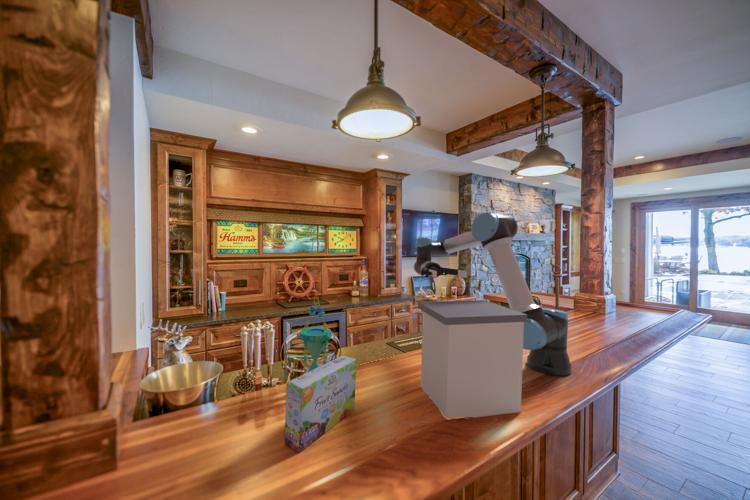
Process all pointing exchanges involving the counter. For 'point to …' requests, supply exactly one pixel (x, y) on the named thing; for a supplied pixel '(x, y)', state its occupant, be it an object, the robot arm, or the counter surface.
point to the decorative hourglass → (315, 339)
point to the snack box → (319, 401)
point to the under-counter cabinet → (472, 357)
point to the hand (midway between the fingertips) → (451, 274)
